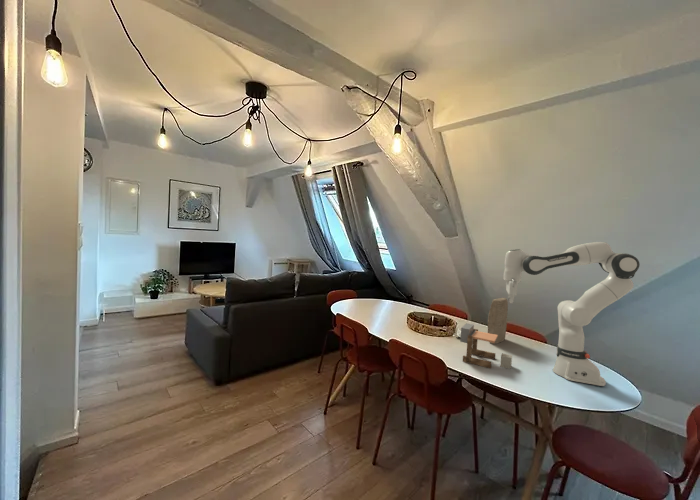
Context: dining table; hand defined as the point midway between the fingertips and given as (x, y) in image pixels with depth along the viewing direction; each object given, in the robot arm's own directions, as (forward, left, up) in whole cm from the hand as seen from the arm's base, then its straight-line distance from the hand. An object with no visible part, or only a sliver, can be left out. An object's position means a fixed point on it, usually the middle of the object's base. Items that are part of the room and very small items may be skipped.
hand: (510, 301), depth 176 cm
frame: (+17, +8, -34) cm, 39 cm away
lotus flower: (+29, -25, -35) cm, 52 cm away
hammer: (+17, +8, -20) cm, 28 cm away
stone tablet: (+10, -36, -35) cm, 51 cm away
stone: (-1, +8, -35) cm, 36 cm away
